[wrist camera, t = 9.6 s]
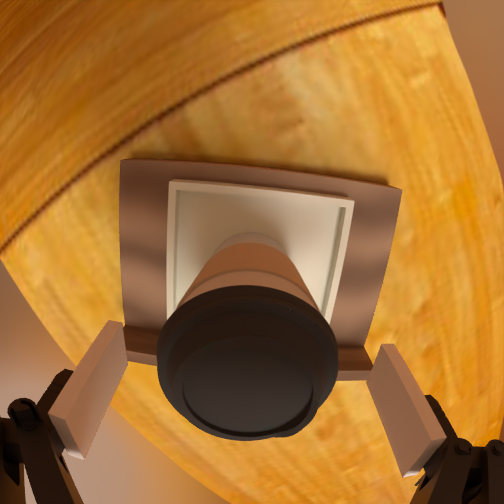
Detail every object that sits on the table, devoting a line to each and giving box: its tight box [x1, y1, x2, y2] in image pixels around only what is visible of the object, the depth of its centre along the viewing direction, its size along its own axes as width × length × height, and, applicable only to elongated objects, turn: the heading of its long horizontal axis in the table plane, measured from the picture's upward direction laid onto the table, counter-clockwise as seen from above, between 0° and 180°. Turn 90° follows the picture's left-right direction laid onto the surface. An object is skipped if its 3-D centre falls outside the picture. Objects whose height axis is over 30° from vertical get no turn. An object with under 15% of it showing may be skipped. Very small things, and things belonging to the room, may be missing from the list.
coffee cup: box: [156, 232, 339, 441], centre depth 20 cm, size 9×9×15 cm
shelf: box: [119, 158, 402, 381], centre depth 27 cm, size 17×24×7 cm
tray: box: [166, 179, 355, 325], centre depth 26 cm, size 14×14×2 cm
